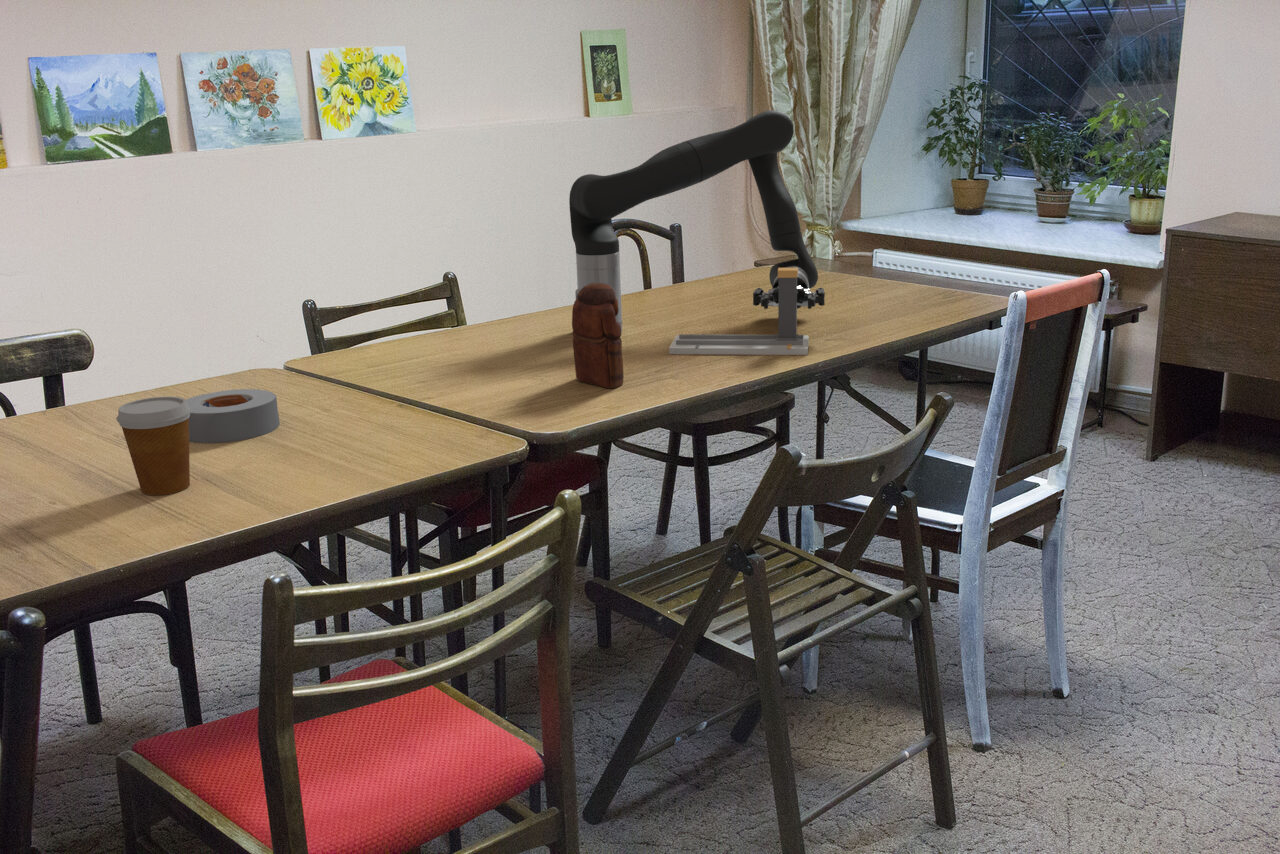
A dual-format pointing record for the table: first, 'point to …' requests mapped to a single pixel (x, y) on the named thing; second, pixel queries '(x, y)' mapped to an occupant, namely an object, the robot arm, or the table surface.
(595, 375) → the wooden figurine
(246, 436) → the tape roll
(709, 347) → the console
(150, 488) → the disposable coffee cup
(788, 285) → the fader
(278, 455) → the table surface
